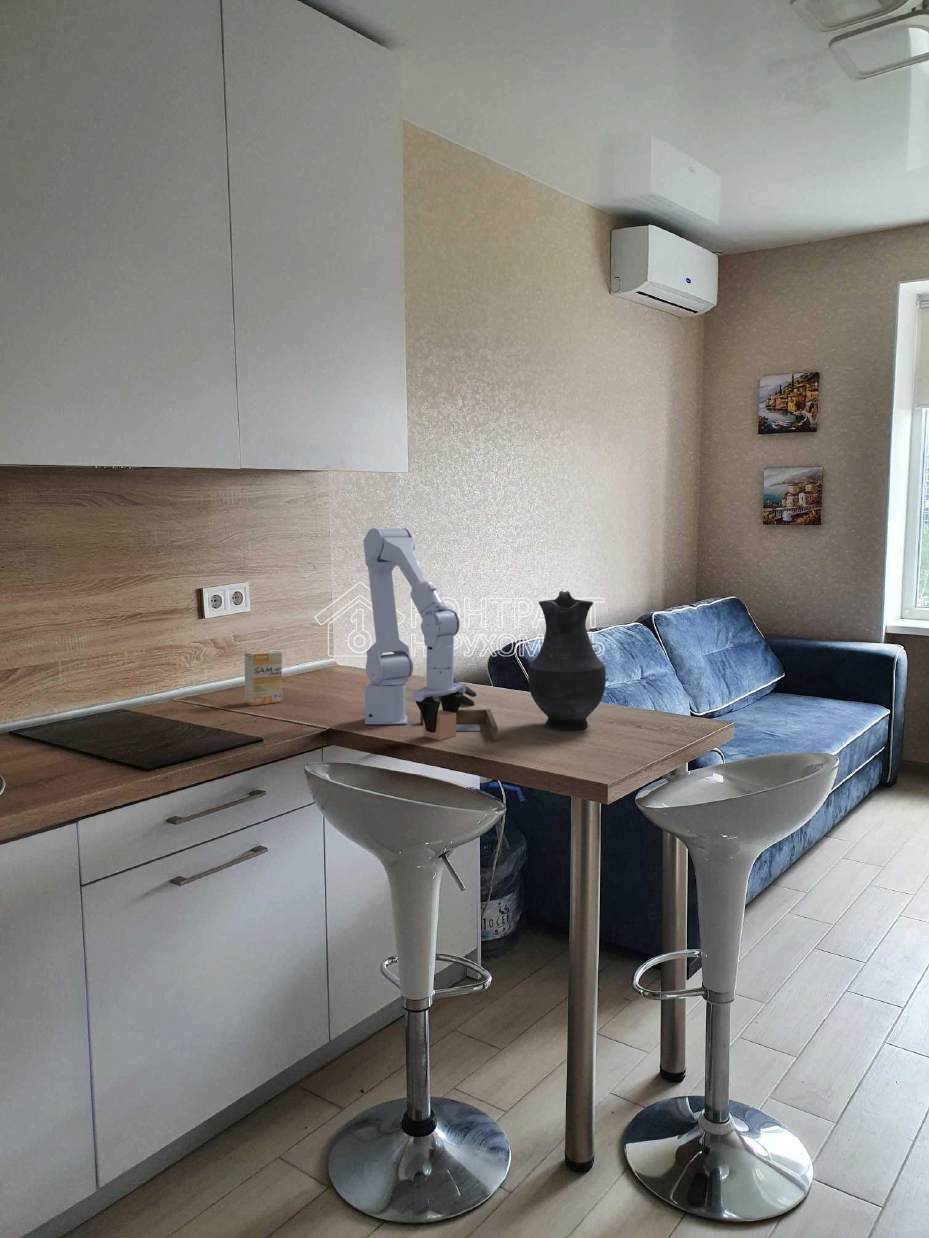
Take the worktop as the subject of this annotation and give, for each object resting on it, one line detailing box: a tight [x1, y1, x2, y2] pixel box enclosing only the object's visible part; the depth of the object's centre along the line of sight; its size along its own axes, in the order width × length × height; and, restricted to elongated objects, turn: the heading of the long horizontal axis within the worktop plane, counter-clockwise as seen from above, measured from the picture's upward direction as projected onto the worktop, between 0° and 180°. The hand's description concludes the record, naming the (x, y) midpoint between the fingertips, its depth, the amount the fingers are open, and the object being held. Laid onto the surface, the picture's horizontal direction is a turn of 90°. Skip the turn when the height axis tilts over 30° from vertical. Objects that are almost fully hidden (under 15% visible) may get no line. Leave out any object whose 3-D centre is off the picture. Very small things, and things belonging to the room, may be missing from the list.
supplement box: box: [244, 649, 283, 707], centre depth 232 cm, size 8×5×13 cm, turn 128°
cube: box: [422, 709, 457, 741], centre depth 198 cm, size 5×5×5 cm
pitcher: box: [527, 590, 607, 731], centre depth 209 cm, size 17×21×30 cm
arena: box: [419, 708, 499, 742], centre depth 203 cm, size 16×18×3 cm
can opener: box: [453, 677, 477, 707], centre depth 238 cm, size 18×7×6 cm, turn 28°
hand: (439, 729), depth 198 cm, fingers closed on cube, 5 cm apart
